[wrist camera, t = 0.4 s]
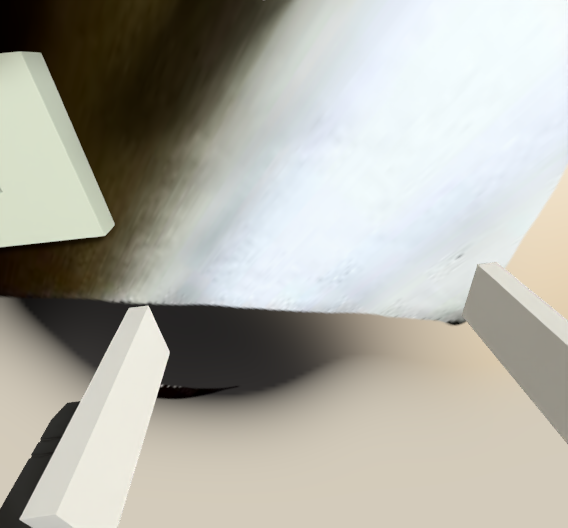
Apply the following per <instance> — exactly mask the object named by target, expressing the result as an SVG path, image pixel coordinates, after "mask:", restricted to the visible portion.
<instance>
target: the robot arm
mask: <svg viewBox="0 0 568 528" xmlns="http://www.w3.org/2000/svg"><path fill="white" fill-rule="evenodd" d="M462 316H463V317H464V319H465V320H466V321H467V322H468V323H469V325H470V326H471V327H472V328H473V330H474V331H475V332H476V333H477V334H478V336H479V337H480V338H481V339H482V340H483V342H484V343H485V344H486V345H487V346H488V348H489V349H490V350H491V351H492V353H493V354H494V355H495V356H496V357H497V359H498V360H499V361H500V362H501V364H502V365H503V366H504V367H505V368H506V370H507V371H508V372H509V373H510V375H511V376H512V377H513V378H514V379H515V380H516V382H517V383H518V384H519V385H520V387H521V388H522V389H523V390H524V392H525V393H526V394H527V395H528V396H529V398H530V399H531V400H532V401H533V402H534V404H535V405H536V406H537V407H538V409H539V410H540V411H541V412H542V413H543V415H544V416H545V417H546V418H547V419H548V421H549V422H550V423H551V424H552V426H553V427H554V428H555V429H556V430H557V432H558V433H559V434H560V435H561V436H562V438H563V439H564V440H565V441H566V442H567V444H568V320H567V319H565V318H564V317H563V316H562V315H561V314H559V313H558V312H557V311H556V310H554V309H553V308H552V307H551V306H550V305H548V304H547V303H546V302H545V301H543V300H542V299H541V298H539V296H537V295H536V294H535V293H534V292H532V291H531V290H530V289H529V288H528V287H526V286H525V285H524V284H523V283H521V282H520V281H519V280H518V279H517V278H515V277H514V276H513V275H512V274H511V273H509V272H508V271H507V270H506V269H504V268H503V267H502V266H501V265H500V264H498V263H497V262H493V263H485V264H478V265H477V268H476V271H475V275H474V278H473V281H472V284H471V287H470V291H469V294H468V297H467V300H466V303H465V307H464V310H463V313H462ZM169 353H170V352H169V350H168V348H167V345H166V343H165V341H164V339H163V337H162V334H161V332H160V330H159V328H158V326H157V324H156V321H155V319H154V317H153V315H152V312H151V310H150V308H149V306H142V307H134V308H129V309H128V311H127V313H126V315H125V317H124V319H123V321H122V323H121V324H120V326H119V328H118V330H117V332H116V334H115V336H114V338H113V340H112V342H111V344H110V346H109V348H108V350H107V352H106V354H105V355H104V357H103V359H102V361H101V363H100V365H99V367H98V369H97V371H96V373H95V375H94V376H93V378H92V380H91V382H90V384H89V386H88V388H87V390H86V392H85V394H84V396H83V398H82V400H81V401H79V402H71V403H67V404H66V405H65V406H64V407H63V408H62V409H61V410H60V411H59V412H58V413H57V414H56V415H55V417H54V418H53V419H52V420H51V422H50V423H49V425H48V427H47V428H46V430H45V432H44V434H43V435H42V437H41V441H40V442H39V443H38V444H37V446H36V448H35V449H34V451H33V453H32V454H31V455H32V457H31V459H29V460H28V461H27V463H26V465H25V467H24V468H23V470H22V472H21V474H20V475H19V477H18V479H17V481H16V482H15V484H14V486H13V488H12V489H11V491H10V493H9V495H8V496H7V498H6V500H5V502H4V503H3V505H2V507H1V508H0V528H118V525H119V522H120V518H121V515H122V511H123V508H124V505H125V501H126V498H127V495H128V491H129V488H130V485H131V481H132V478H133V475H134V471H135V468H136V464H137V461H138V457H139V454H140V451H141V447H142V444H143V441H144V438H145V434H146V431H147V427H148V424H149V421H150V417H151V414H152V410H153V407H154V404H155V400H156V397H157V394H158V390H159V387H160V384H161V380H162V377H163V373H164V370H165V366H166V363H167V360H168V357H169Z"/></svg>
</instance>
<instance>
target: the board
mask: <svg viewBox="0 0 568 528" xmlns="http://www.w3.org/2000/svg"><path fill="white" fill-rule="evenodd" d="M114 225H115V224H114V221H113V219H112V217H111V214H110V212H109V210H108V207H107V205H106V203H105V200H104V198H103V196H102V193H101V191H100V189H99V187H98V184H97V182H96V180H95V177H94V175H93V173H92V170H91V168H90V166H89V163H88V161H87V159H86V156H85V154H84V152H83V149H82V147H81V145H80V142H79V140H78V138H77V135H76V133H75V131H74V128H73V126H72V124H71V121H70V119H69V117H68V114H67V112H66V110H65V107H64V105H63V103H62V100H61V98H60V96H59V93H58V91H57V89H56V86H55V84H54V82H53V79H52V77H51V75H50V72H49V70H48V68H47V65H46V63H45V61H44V58H43V56H42V54H41V53H37V52H21V51H20V52H10V53H0V247H7V246H16V245H26V244H35V243H44V242H53V241H63V240H72V239H81V238H90V237H100V236H106V234H107V233H108V232H109V231H110V230H111V229H112V228H113V227H114Z"/></svg>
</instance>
